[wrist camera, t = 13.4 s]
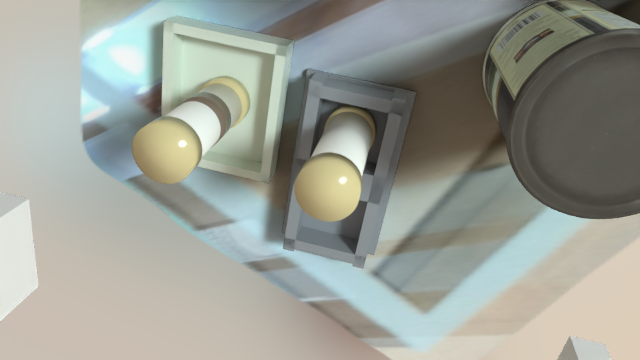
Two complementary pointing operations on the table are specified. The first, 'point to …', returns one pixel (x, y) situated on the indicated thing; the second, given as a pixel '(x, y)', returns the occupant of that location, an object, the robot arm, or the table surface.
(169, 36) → the parts tray
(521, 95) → the coffee can
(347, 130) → the fuse
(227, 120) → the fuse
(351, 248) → the grey divided tray
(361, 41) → the table surface
